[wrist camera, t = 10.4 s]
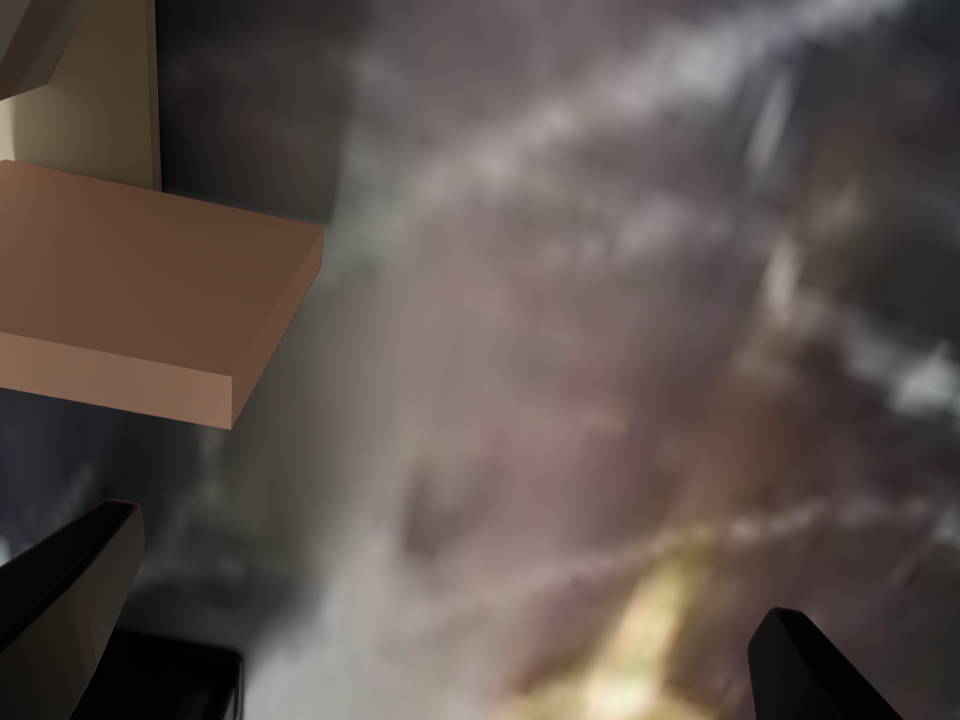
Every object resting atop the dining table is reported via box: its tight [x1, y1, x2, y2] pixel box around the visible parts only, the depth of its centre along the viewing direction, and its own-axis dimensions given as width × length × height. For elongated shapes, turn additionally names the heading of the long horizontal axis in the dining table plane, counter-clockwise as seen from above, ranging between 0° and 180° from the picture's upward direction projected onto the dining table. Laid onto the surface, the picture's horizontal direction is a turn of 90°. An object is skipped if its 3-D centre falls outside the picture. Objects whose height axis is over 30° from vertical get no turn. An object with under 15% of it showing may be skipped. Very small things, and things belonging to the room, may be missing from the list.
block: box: [0, 159, 324, 430], centre depth 15 cm, size 8×1×7 cm, turn 78°
